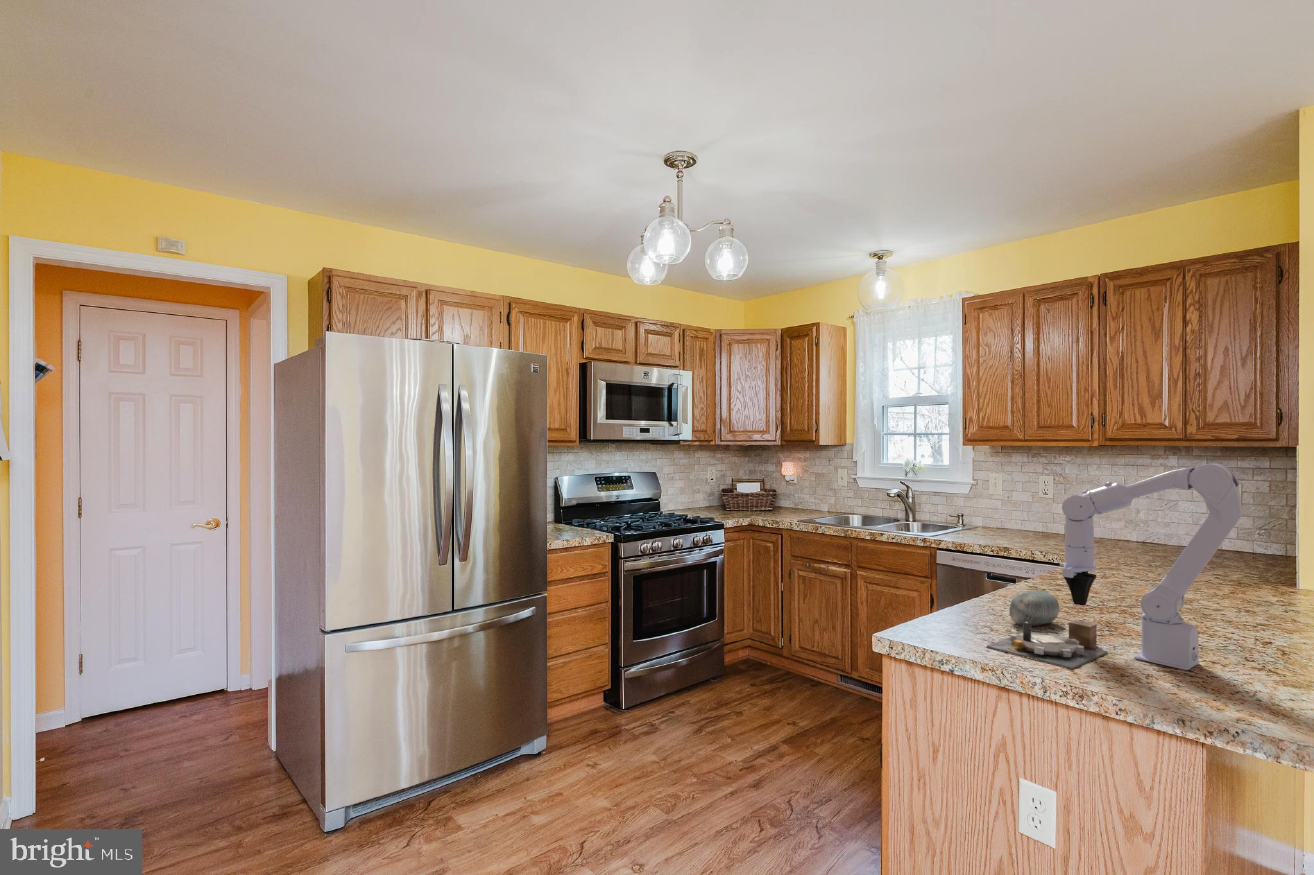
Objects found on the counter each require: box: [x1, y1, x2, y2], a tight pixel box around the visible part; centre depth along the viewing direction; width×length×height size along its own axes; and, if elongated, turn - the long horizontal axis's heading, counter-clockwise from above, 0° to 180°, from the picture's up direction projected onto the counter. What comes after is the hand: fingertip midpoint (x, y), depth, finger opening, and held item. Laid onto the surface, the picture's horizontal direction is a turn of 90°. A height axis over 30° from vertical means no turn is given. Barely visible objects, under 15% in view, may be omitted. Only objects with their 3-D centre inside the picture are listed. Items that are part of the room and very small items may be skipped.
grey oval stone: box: [1009, 590, 1060, 627], centre depth 172 cm, size 14×10×10 cm
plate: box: [986, 636, 1109, 670], centre depth 150 cm, size 18×18×1 cm
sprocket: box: [1010, 622, 1084, 657], centre depth 150 cm, size 14×14×6 cm
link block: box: [1068, 619, 1098, 648], centre depth 154 cm, size 4×4×5 cm
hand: (1079, 604), depth 154 cm, fingers closed
